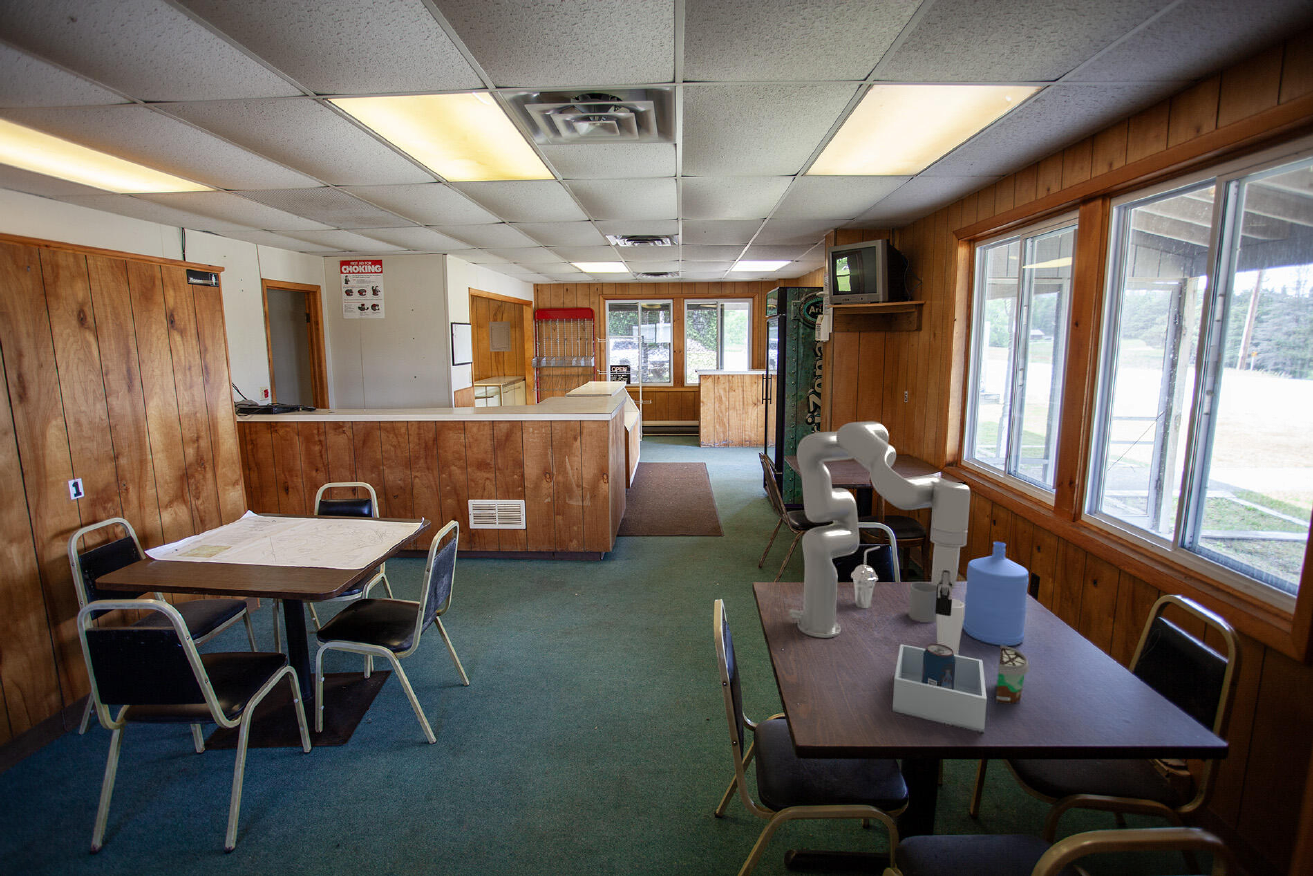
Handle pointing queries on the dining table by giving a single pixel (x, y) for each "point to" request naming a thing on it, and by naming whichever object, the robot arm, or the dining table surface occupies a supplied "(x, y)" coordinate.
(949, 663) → the soda can
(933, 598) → the cup
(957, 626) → the drinking glass
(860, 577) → the cup with straw
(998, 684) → the food container
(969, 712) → the open storage bin
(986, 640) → the water jug
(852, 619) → the dining table surface
